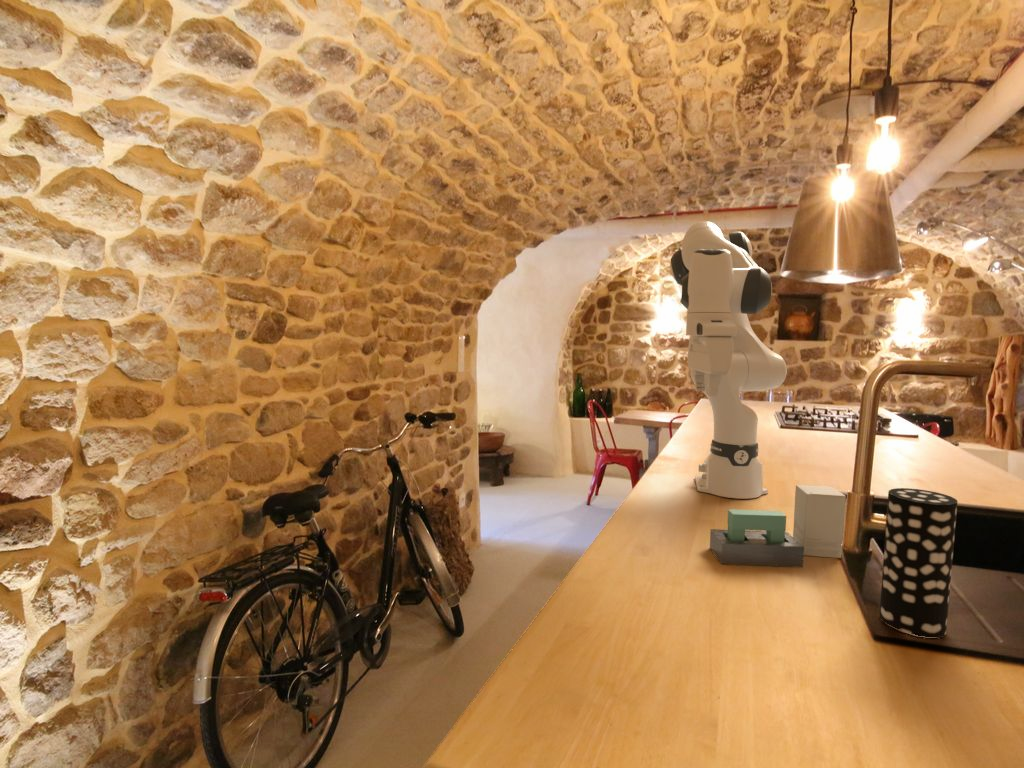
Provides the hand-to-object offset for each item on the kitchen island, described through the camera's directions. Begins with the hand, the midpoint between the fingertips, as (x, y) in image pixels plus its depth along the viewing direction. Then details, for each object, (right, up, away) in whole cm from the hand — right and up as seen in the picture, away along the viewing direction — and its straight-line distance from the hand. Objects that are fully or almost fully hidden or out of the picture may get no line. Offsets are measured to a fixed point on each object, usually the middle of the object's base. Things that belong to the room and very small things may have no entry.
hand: (705, 393), depth 118 cm
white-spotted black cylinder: (+20, -35, -32) cm, 52 cm away
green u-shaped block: (+7, -32, -7) cm, 34 cm away
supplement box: (+21, -32, -3) cm, 39 cm away
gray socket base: (+7, -32, -7) cm, 34 cm away
